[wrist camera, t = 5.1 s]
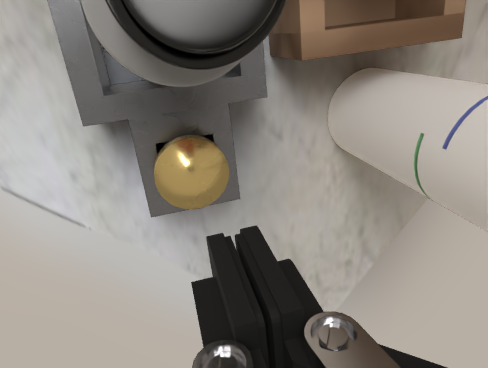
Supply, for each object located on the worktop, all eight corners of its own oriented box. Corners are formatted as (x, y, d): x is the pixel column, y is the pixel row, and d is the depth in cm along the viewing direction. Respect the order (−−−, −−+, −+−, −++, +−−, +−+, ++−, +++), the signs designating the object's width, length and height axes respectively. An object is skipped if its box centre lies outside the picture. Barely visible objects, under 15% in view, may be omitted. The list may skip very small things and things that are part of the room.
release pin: (145, 123, 26) (147, 146, 21) (208, 113, 27) (224, 133, 22) (158, 181, 28) (162, 216, 23) (216, 170, 29) (233, 201, 23)
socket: (42, -80, 21) (15, -111, 17) (228, -91, 23) (249, -121, 19) (116, 195, 28) (111, 225, 24) (255, 168, 30) (275, 191, 26)
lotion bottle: (159, 77, 26) (201, 174, 8) (92, 10, 24) (-60, -65, 6) (218, 18, 26) (399, -18, 8) (155, -57, 23) (206, -369, 5)
